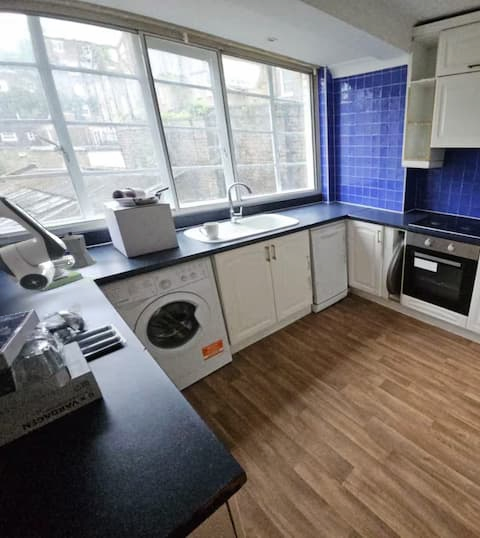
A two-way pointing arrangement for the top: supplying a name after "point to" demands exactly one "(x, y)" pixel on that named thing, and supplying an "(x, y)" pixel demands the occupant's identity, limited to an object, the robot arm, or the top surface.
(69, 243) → the coffeepot
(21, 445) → the top surface
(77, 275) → the scale
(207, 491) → the top surface
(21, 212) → the robot arm
